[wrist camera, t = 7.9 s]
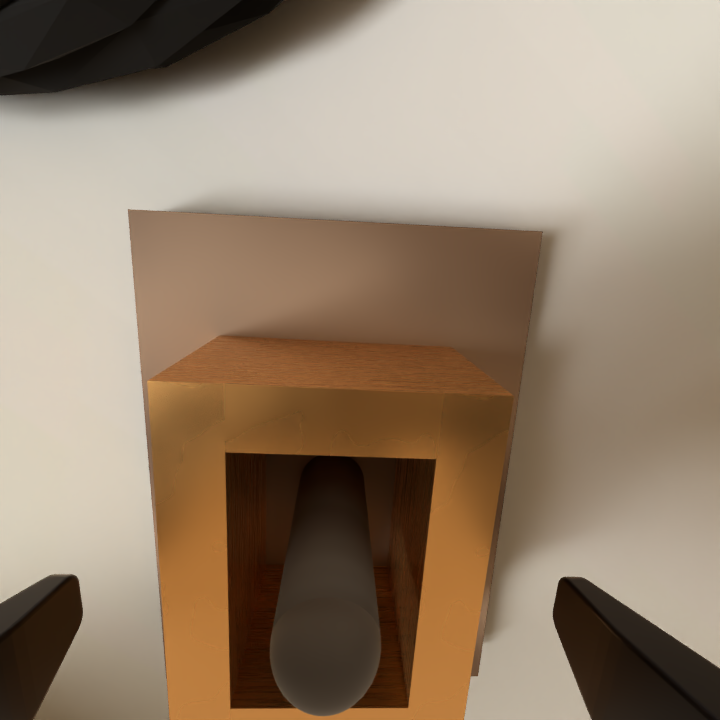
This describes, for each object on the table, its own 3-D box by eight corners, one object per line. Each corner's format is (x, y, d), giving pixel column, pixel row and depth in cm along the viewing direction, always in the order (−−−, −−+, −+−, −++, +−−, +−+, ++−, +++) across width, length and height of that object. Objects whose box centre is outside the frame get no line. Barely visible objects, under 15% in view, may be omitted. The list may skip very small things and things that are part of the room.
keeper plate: (466, 642, 15) (579, 984, 8) (180, 644, 14) (28, 1012, 7) (521, 234, 11) (802, 195, 4) (150, 215, 11) (-187, 135, 4)
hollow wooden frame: (422, 600, 13) (459, 751, 9) (225, 597, 12) (171, 753, 8) (451, 347, 11) (514, 396, 7) (219, 335, 10) (147, 380, 7)
